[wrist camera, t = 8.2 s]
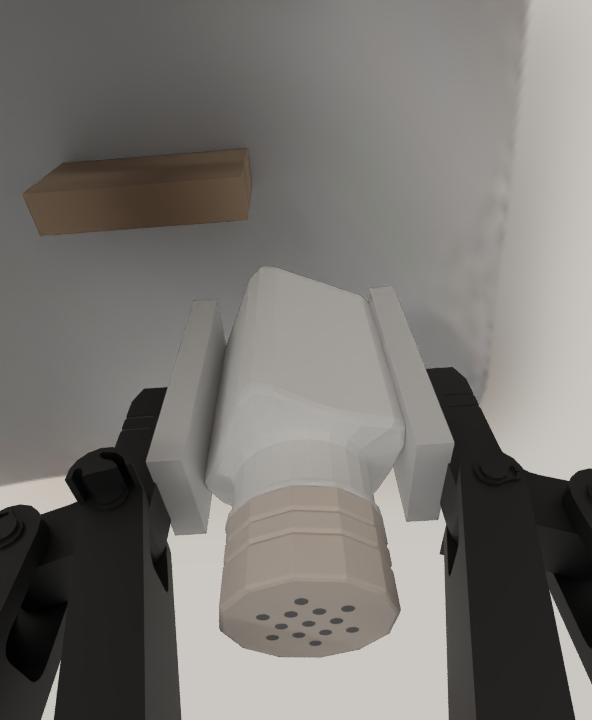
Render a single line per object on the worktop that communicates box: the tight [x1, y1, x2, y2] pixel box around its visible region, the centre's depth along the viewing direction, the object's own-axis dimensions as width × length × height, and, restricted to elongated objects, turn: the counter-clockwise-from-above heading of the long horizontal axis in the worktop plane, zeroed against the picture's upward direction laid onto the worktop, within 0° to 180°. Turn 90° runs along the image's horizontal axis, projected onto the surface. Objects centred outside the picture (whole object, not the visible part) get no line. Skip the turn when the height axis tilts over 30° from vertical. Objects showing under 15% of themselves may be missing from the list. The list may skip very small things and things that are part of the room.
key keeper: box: [23, 149, 252, 236], centre depth 12 cm, size 6×9×3 cm
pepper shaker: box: [204, 266, 405, 657], centre depth 12 cm, size 4×4×10 cm
